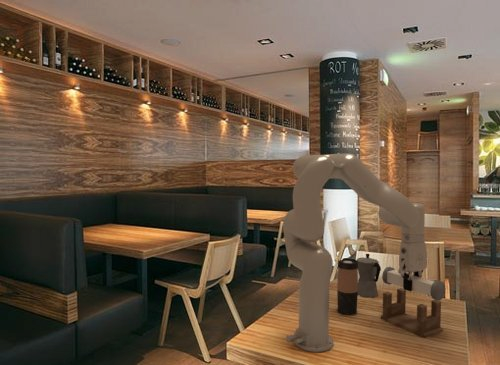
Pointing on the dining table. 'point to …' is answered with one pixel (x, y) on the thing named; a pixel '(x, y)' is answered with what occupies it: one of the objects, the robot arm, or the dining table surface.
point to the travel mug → (347, 286)
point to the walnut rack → (418, 325)
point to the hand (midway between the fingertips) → (412, 288)
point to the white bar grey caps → (415, 283)
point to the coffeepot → (368, 276)
